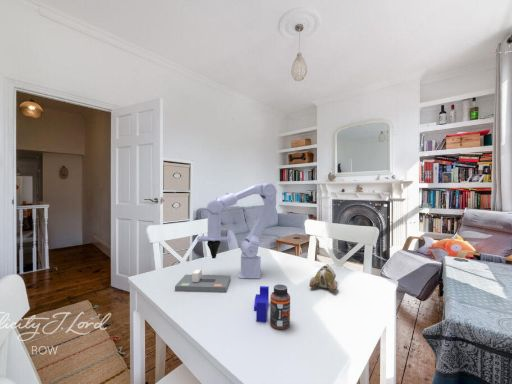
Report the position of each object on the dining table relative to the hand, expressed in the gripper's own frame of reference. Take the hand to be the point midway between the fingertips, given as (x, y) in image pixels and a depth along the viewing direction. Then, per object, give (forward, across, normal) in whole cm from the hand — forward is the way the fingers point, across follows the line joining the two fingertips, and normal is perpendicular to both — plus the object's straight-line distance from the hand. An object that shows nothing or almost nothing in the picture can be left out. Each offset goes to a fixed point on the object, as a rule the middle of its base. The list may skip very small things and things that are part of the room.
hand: (214, 257), depth 104 cm
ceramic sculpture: (+10, +47, -5) cm, 49 cm away
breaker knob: (+7, -6, -7) cm, 11 cm away
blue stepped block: (+10, +21, -26) cm, 35 cm away
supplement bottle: (+10, +27, -33) cm, 44 cm away
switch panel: (+9, -2, -7) cm, 12 cm away
